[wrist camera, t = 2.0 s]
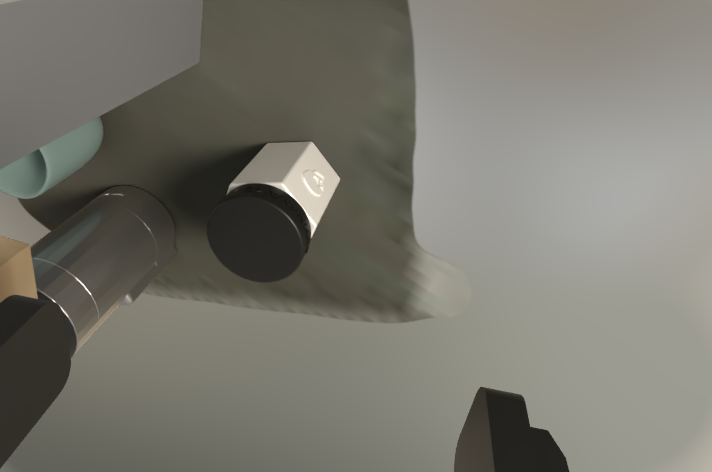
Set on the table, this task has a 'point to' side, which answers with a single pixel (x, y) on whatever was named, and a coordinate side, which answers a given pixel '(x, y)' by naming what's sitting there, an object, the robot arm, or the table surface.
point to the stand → (84, 61)
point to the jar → (272, 211)
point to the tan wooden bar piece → (16, 269)
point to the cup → (52, 162)
